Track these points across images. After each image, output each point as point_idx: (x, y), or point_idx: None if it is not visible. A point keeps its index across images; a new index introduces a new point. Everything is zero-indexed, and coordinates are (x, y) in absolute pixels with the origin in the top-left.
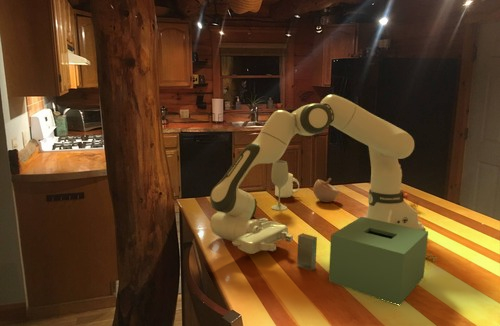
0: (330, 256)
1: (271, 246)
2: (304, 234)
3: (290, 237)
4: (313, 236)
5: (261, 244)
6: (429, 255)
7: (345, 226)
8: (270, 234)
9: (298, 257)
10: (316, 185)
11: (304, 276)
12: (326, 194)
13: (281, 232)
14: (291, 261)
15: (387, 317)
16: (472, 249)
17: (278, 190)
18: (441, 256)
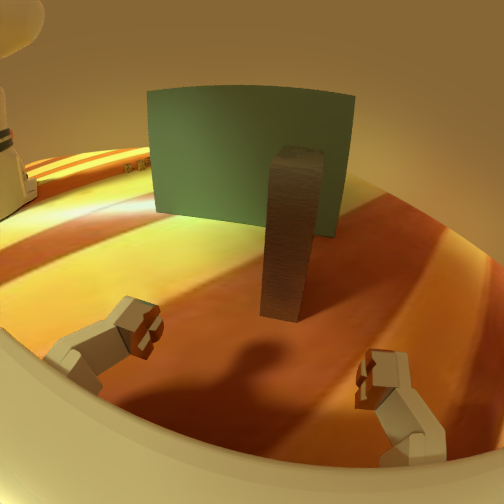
0: (346, 164)
1: (405, 367)
2: (283, 160)
3: (153, 304)
4: (285, 148)
5: (441, 440)
6: (142, 160)
7: (256, 85)
8: (208, 457)
9: (303, 284)
10: None
11: (355, 283)
12: None
13: (67, 372)
14: (259, 356)
15: (371, 187)
16: (110, 155)
17: None
18: (133, 162)
